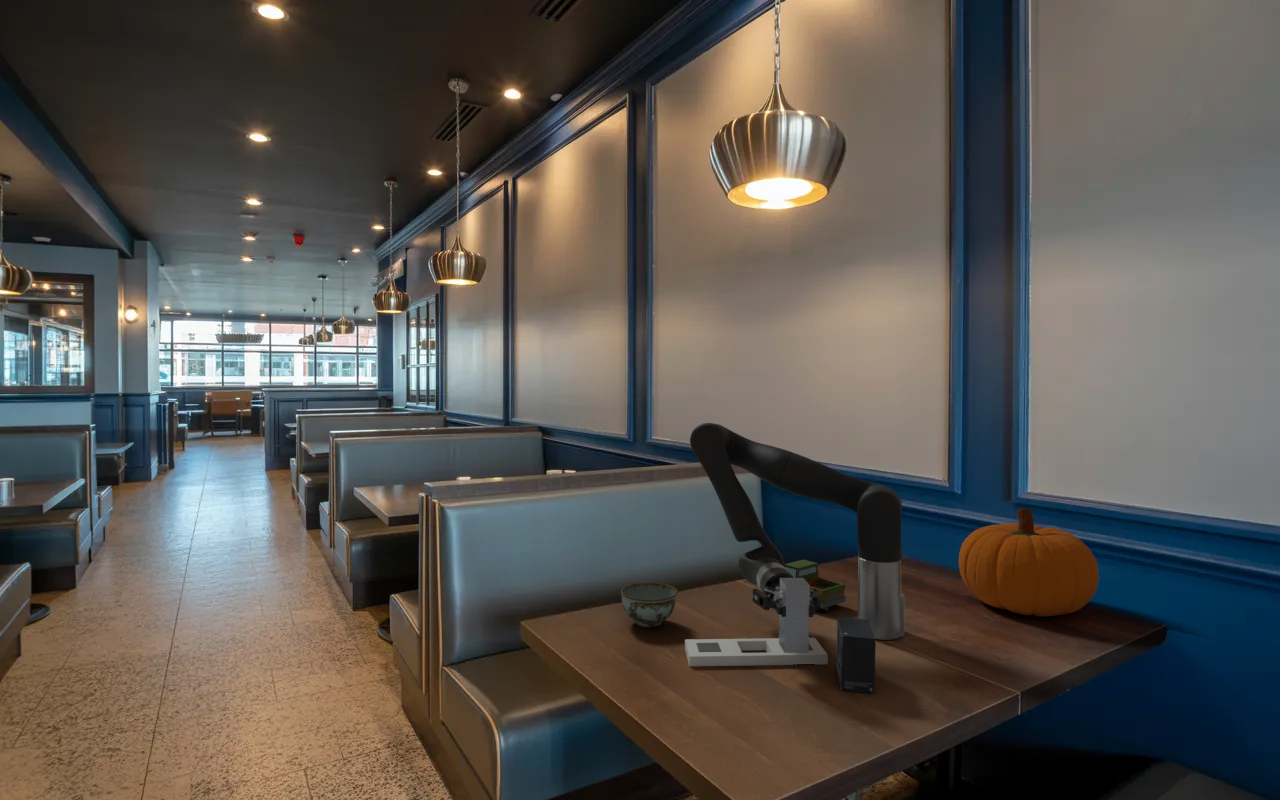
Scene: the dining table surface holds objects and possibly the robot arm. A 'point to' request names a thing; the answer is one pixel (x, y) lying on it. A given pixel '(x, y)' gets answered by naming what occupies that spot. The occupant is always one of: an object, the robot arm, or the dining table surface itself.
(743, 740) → the dining table surface
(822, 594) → the toy truck
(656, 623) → the bowl
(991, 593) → the decorative pumpkin
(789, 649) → the brushed metal pillar
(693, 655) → the white slotted plate
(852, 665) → the small box
